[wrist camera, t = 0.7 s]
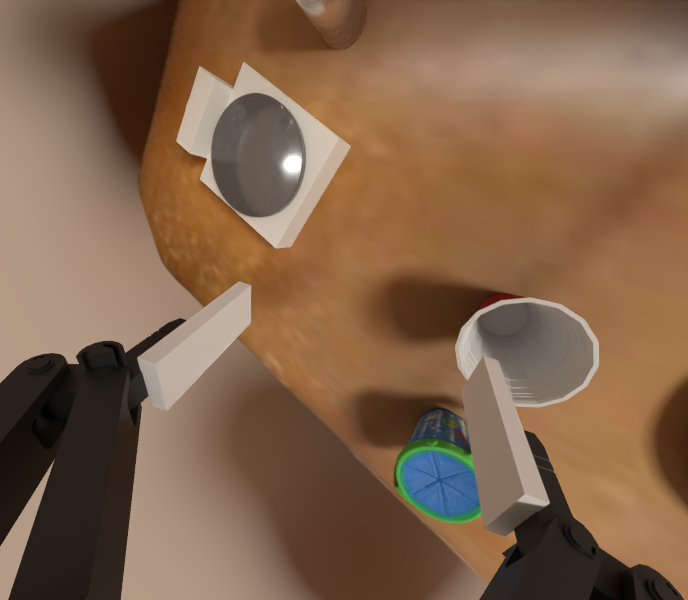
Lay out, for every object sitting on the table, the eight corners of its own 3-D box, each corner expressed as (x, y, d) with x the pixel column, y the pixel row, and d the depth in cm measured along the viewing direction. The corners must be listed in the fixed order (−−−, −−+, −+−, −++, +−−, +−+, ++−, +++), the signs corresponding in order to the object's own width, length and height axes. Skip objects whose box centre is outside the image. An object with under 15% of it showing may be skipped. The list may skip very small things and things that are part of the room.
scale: (246, 63, 39) (205, 32, 33) (351, 146, 37) (328, 129, 30) (205, 170, 47) (166, 161, 41) (290, 246, 44) (262, 250, 38)
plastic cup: (453, 350, 38) (451, 399, 27) (459, 273, 35) (459, 293, 25) (548, 363, 34) (588, 425, 23) (562, 276, 31) (616, 302, 20)
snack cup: (470, 379, 38) (474, 428, 29) (516, 442, 38) (534, 511, 28) (383, 418, 45) (363, 466, 36) (421, 471, 45) (411, 533, 35)
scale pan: (242, 72, 35) (237, 68, 34) (327, 139, 33) (323, 137, 32) (203, 176, 42) (197, 175, 41) (271, 238, 40) (267, 239, 39)
